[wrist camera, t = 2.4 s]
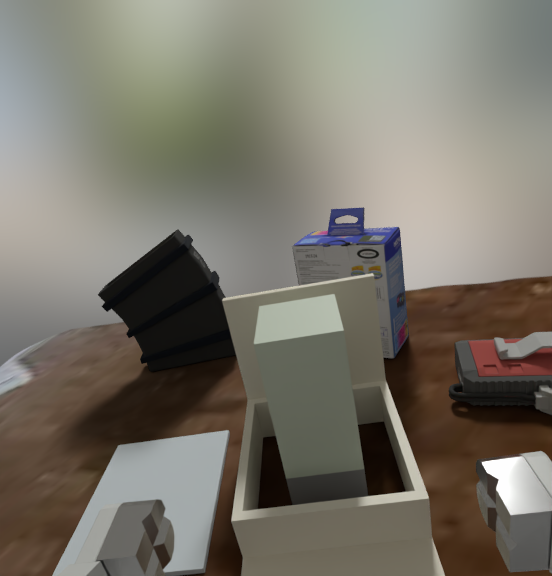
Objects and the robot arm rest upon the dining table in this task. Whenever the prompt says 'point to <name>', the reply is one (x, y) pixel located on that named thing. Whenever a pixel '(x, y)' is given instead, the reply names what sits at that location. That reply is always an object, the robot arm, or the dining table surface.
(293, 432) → the box
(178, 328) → the magazine
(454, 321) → the dining table surface
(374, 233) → the ink cartridge box
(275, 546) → the carton
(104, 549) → the robot arm
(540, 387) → the walkie-talkie
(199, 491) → the mat
